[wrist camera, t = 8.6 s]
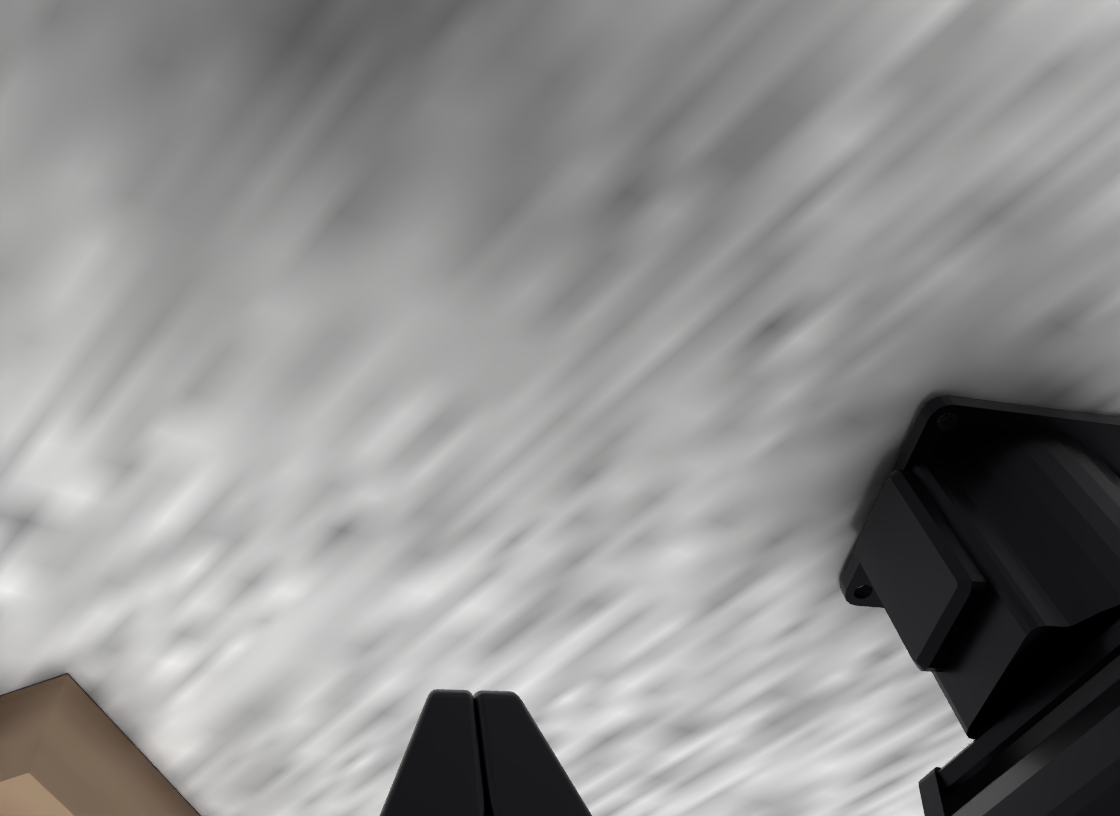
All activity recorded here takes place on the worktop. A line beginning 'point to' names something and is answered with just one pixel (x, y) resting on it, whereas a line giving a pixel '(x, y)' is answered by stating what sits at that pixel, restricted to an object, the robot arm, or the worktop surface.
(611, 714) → the worktop surface
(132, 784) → the brown tray
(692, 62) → the worktop surface
